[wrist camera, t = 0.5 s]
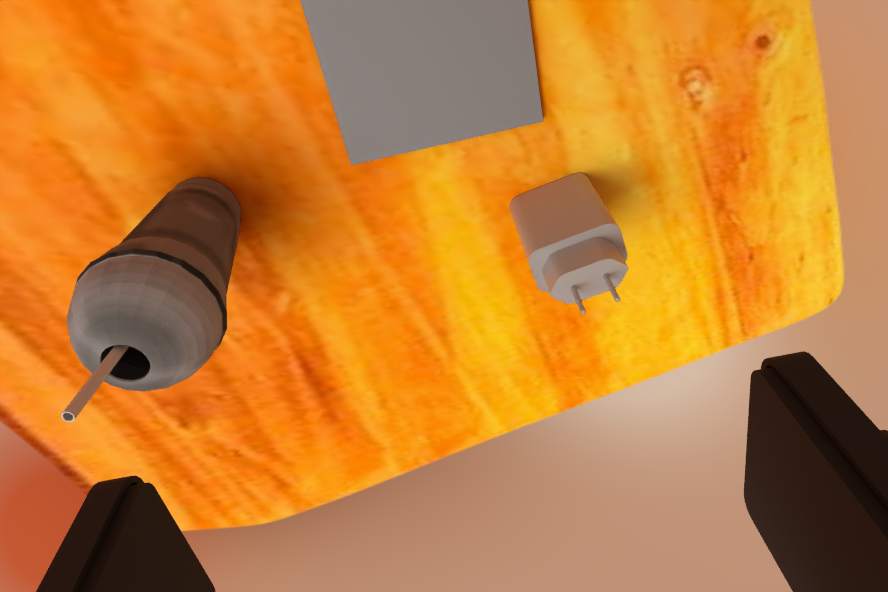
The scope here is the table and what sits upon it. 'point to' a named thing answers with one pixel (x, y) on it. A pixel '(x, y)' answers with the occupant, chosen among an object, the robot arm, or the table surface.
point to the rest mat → (424, 70)
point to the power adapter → (570, 240)
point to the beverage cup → (157, 294)
